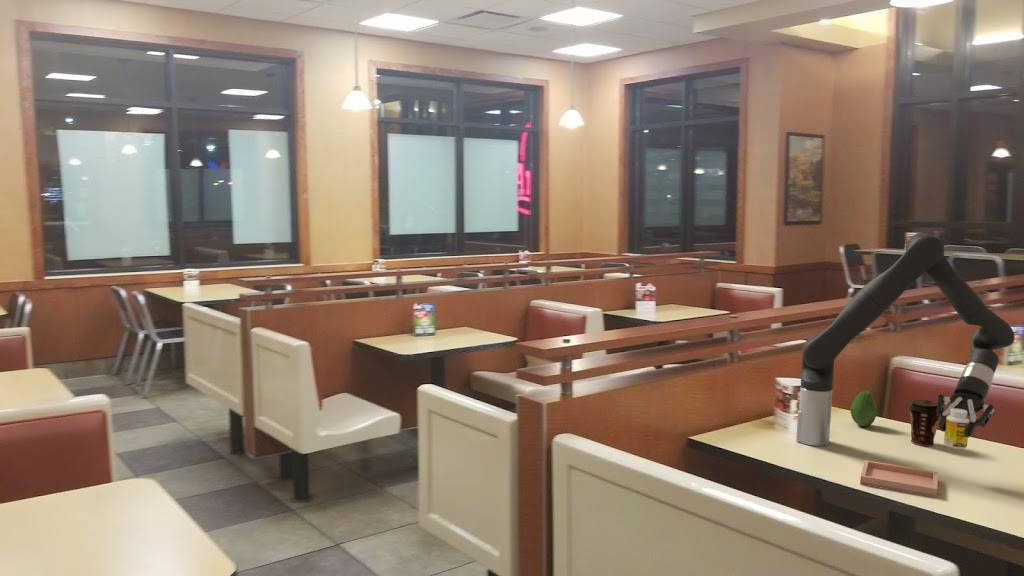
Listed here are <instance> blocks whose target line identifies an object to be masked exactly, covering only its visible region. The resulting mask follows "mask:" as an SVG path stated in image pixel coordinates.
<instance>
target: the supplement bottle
mask: <svg viewBox="0 0 1024 576" xmlns="http://www.w3.org/2000/svg"><path fill="white" fill-rule="evenodd" d="M969 418H970V417H968V415H967V411H966V410H963V409H958V408H952V409H951V411H950V415H948V416H947V417H946V426H945V431H944V437H943V444H944V445H945V446H946V447H948V448H949V449H950V448H951V449H956V450H965V449H967V446H968V440H969V438H968V437H966V436H965V431H966V428H967V426H968V423H969V422H971V419H969Z"/></svg>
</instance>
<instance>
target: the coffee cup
mask: <svg viewBox="0 0 1024 576" xmlns="http://www.w3.org/2000/svg"><path fill="white" fill-rule="evenodd" d="M937 404H938V402H934V401H931V400H927V399H924V400H923V399H914V400H913V401H912V403H911V404H910V405H909V406H908V408H909V410H910V412H909V413H910V415H909V416H910V438H911V440H910V442H911V444H913V445H917V446H923V447H930V446H934V445H935V436H936V434H937V428H938V425H939V418H940V417H939V416H938V414H937V411H936V409H937Z"/></svg>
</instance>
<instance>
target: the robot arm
mask: <svg viewBox="0 0 1024 576" xmlns="http://www.w3.org/2000/svg"><path fill="white" fill-rule="evenodd" d="M925 274H927V275H928V276H929V278H930V279H931V280H932V281H933V282H934V283H935V285H936V286H937V287H938V289H939V290H940V292H942V294H943V295H944V297H945V298H946V300H947V301H948V302H949V304H950V305H951V307H952V308H953V309H954V311H955V312H956V313H957V314H958V316H959V317H960V318H961V319H962V321H963V322H964V323H965V324H967V325H969V326H978V327H979V328H978V329H976V330H975V332H974V333H973V334H972V337H971V342H970V343H971V344H970V356H969V358H968V361H967V363H966V365H965V367H964V369H963V370H962V372H961V373H960V377H959V379H958V382H957V385H956V386H955V389H954V391H953V393H952V394H951V395H950V396H944V394H939V395H938V399H937V409H936V411H937V414H938V416H939V418H940V420H939V422H938V427H939V430H940V431H941V432H943V433H945V426H946V417H947V416H948V415H950V411H951V409H952V408H958V409H963V410H966V411H967V417H968V416H969V418H970V419H969V420H970V422H969V423H968V426H967V428H966V431H965V436H966V437H968V439H969V438H970V437H972V436H973V435H974V433H975V430H976V428H977V427H981V428H983V427H986V425H987V424H988V423H989V421H990V419H991V418H992V417H993V415H994V414H995V412H996V411H995V408H994V405H993V404H989V405H988V404H985V401H986V399H987V396H988V392H989V391H990V388H992V384H993V379H994V375H995V373H996V371H997V368H998V366H999V361H1000V357H999V355H998V354H997V353H996V352H995V351H994V350H999V349H1004V348H1007V347H1008V348H1009V346H1011V345H1012V344H1014V342H1015V332H1014V330H1013V328H1012V327H1011V325H1010V324H1008V322H1007V321H1005V320H1004V319H1003V318H1001V317H1000V316H999V315H998V314H997V313H995V312H994V311H992V310H990V309H989V308H988V307H987V306H986V304H985V303H984V302H983V301H982V299H981V298H980V297H979V296H978V294H977V293H976V292H975V290H973V288H972V287H971V286H970V285H969V284H968V283H967V282H966V281H965V280H964V279H963V278H962V277H961V276H960V274H958V272H957V271H956V270H955V268H953V266H952V265H951V264H950V263H949V261H948V259H947V257H946V256H945V245H944V243H943V241H942V240H941V239H940V238H938V237H937V236H934V235H933V234H930V233H926V232H924V233H923V232H921V233H916V234H913V235H911V236H910V237H909V239H907V241H906V245H905V251H904V253H903V254H902V255H901V256H900V257H899V258H898V259H897V261H896V262H894V263H893V265H891V266H890V267H889V268H888V269H887V270H885V271H883V272H882V273H880V274H879V275H877V276H876V277H874V278H873V279H872V280H870V281H869V282H868V283H866V284H864V285H863V287H862V288H860V289H859V290H858V291H857V292H856V293H855V294H854V295H853V296H852V297H851V299H850V300H849V301H848V302H847V303H846V304H845V306H844V307H843V308H842V310H840V313H838V315H837V316H836V318H835V319H834V321H833V322H832V323H831V324H830V325H829V326H828V327H826V329H824V330H823V331H822V332H821V333H820V334H818V335H813V336H811V337H809V338H808V339H807V340H805V342H804V343H803V346H802V356H801V357H802V358H801V375H800V388H799V389H800V392H799V407H798V409H799V410H798V411H797V419H796V420H797V422H796V423H797V424H796V441H795V442H798V443H802V444H804V445H806V446H807V445H808V446H813V447H815V446H816V447H823V446H828V445H829V444H830V438H831V437H830V435H831V434H830V433H831V423H832V422H831V418H832V402H833V387H834V386H833V385H834V368H835V367H834V366H835V360H836V358H837V357H838V356H839V355H840V353H842V352H843V350H844V349H845V348H846V347H847V345H849V343H850V342H851V341H852V340H853V339H854V338H857V336H859V335H860V334H861V333H862V332H864V331H865V330H866V329H868V327H870V325H872V324H873V323H874V322H875V321H876V320H877V319H879V318H880V317H881V316H882V315H883V314H884V313H886V311H887V310H888V309H889V308H890V307H891V306H892V305H893V304H894V303H895V302H896V301H897V300H898V299H899V298H900V297H901V296H902V295H903V293H904V292H905V291H906V290H907V289H908V288H909V287H911V285H912V284H913V283H914V282H916V280H918V279H919V278H920V277H921V276H922V275H925ZM949 402H950V403H951V404H950V405H949V406H948V407H947V408H946V409H945V406H947V405H948V403H949ZM982 410H983V413H982V414H981V416H980V417H979V418H978V417H977V412H978V413H979V412H980V411H982Z"/></svg>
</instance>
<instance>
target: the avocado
mask: <svg viewBox="0 0 1024 576" xmlns="http://www.w3.org/2000/svg"><path fill="white" fill-rule="evenodd" d="M877 410H878V409H877V406H876V402H875V399H874V395H873V394H872V393H871V391H868V390H862V391H860V392H859V393H857V395H856V397H855V398H854V399H853V402H852V404H851V406H850V416H851V419H852V421H854V423H855V424H856V425H858V426H860V427H864V426H865V427H868V426H871V425H872V424H873V423H874V422H875V421H876V418H877V413H878V412H877Z"/></svg>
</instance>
